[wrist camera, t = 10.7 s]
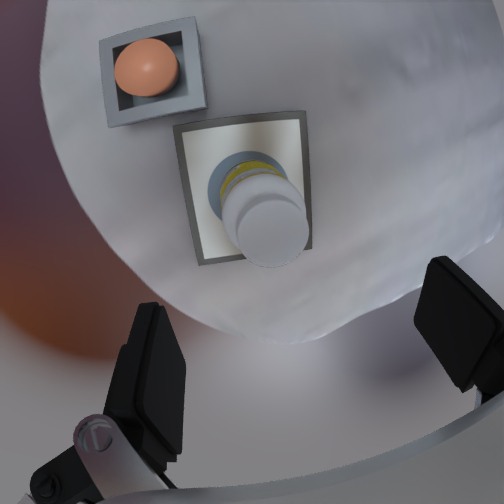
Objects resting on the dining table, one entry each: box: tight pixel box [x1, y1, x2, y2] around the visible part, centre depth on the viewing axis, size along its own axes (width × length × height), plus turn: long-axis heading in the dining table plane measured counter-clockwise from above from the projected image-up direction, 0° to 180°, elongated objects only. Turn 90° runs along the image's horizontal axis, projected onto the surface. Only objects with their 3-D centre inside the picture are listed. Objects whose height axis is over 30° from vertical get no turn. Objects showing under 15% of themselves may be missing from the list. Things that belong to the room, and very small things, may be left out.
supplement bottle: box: [220, 160, 309, 267], centre depth 20 cm, size 5×5×10 cm
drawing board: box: [173, 111, 312, 266], centre depth 25 cm, size 11×13×1 cm
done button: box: [114, 38, 180, 98], centre depth 16 cm, size 4×4×3 cm
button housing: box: [99, 16, 208, 128], centre depth 18 cm, size 7×7×5 cm
